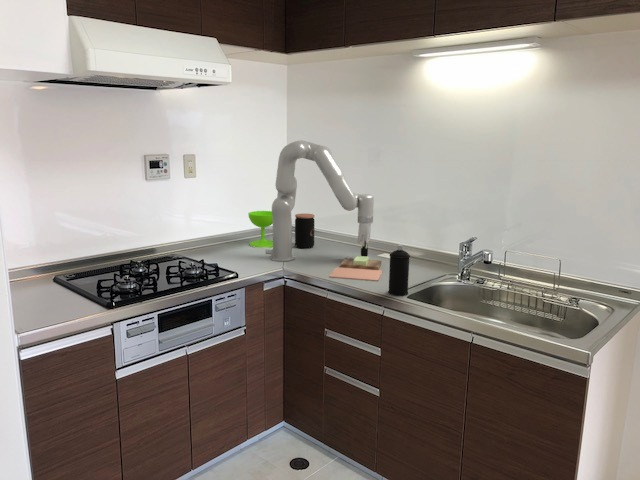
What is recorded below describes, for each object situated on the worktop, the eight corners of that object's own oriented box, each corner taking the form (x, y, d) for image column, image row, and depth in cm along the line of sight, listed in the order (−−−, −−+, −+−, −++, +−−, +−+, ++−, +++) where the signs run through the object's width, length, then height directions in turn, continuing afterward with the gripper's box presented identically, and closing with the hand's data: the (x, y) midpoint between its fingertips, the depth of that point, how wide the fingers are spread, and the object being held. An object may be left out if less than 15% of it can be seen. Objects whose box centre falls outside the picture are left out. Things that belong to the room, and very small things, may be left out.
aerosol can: (403, 297, 206) (405, 248, 202) (384, 293, 211) (386, 245, 206) (411, 292, 213) (413, 244, 209) (393, 288, 218) (394, 241, 213)
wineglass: (282, 243, 299) (281, 212, 295) (269, 249, 284) (269, 216, 280) (257, 240, 304) (256, 210, 300) (243, 246, 290) (243, 214, 286)
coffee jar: (313, 249, 284) (314, 216, 281) (294, 249, 285) (294, 216, 281) (314, 244, 295) (314, 213, 291) (295, 244, 295) (295, 213, 291)
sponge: (353, 264, 246) (353, 260, 246) (356, 260, 255) (356, 256, 255) (365, 265, 245) (366, 261, 245) (368, 260, 254) (368, 256, 253)
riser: (340, 268, 247) (340, 264, 247) (345, 262, 259) (345, 258, 258) (378, 271, 243) (378, 267, 243) (381, 264, 255) (381, 260, 254)
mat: (328, 277, 233) (329, 276, 232) (336, 268, 248) (336, 267, 248) (378, 281, 228) (378, 280, 227) (382, 271, 243) (382, 270, 243)
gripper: (360, 216, 263) (359, 252, 267) (355, 221, 248) (354, 259, 252) (374, 217, 261) (373, 253, 265) (370, 222, 247) (369, 260, 251)
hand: (364, 255), depth 259 cm, fingers closed
